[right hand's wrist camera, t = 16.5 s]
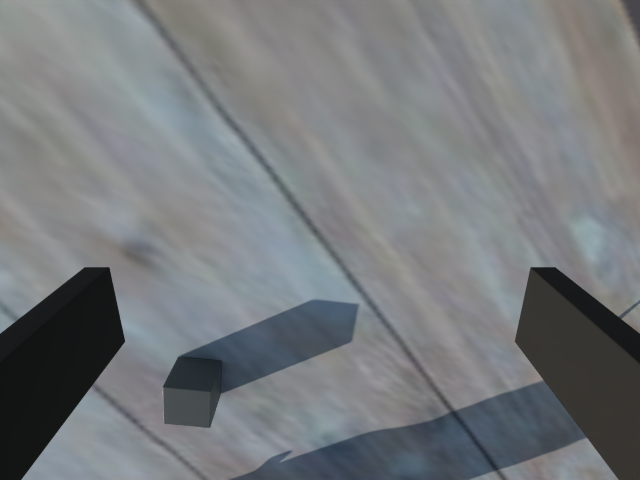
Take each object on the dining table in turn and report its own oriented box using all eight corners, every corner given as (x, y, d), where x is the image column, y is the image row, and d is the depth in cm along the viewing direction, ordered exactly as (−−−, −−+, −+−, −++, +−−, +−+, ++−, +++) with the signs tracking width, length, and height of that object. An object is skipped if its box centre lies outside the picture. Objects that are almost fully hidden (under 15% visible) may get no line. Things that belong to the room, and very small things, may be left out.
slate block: (178, 356, 46) (162, 387, 41) (222, 360, 46) (211, 391, 41) (178, 390, 48) (163, 423, 43) (220, 394, 48) (210, 428, 43)
